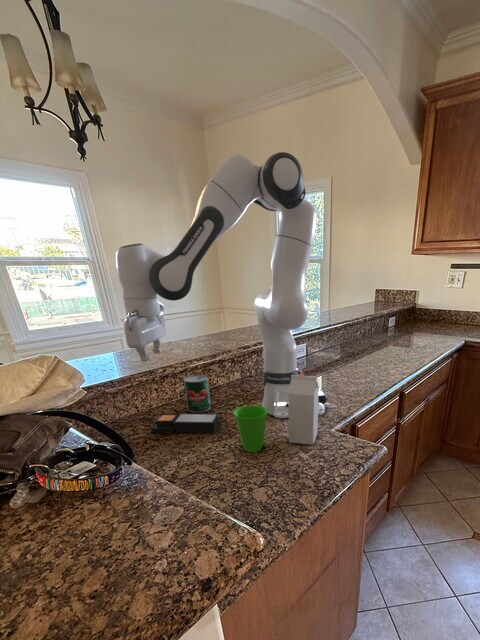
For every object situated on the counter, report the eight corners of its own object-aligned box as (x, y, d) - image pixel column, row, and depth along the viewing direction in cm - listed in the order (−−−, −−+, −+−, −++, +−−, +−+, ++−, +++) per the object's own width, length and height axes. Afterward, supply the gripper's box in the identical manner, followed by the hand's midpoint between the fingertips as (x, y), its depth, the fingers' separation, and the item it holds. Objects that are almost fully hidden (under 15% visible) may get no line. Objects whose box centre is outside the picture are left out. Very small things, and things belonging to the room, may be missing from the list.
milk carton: (313, 445, 100) (314, 380, 92) (288, 442, 101) (287, 378, 93) (317, 434, 106) (319, 373, 98) (294, 432, 107) (294, 371, 99)
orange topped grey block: (179, 424, 111) (177, 414, 110) (173, 431, 107) (172, 421, 106) (163, 424, 111) (161, 414, 110) (157, 431, 107) (155, 421, 105)
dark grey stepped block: (219, 422, 113) (218, 413, 112) (213, 433, 106) (212, 423, 104) (162, 422, 113) (160, 412, 111) (152, 432, 106) (150, 422, 104)
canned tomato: (194, 414, 119) (189, 383, 114) (183, 408, 124) (179, 377, 119) (215, 409, 124) (211, 378, 119) (204, 402, 129) (200, 373, 124)
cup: (276, 448, 98) (274, 411, 93) (249, 459, 92) (246, 421, 87) (256, 437, 104) (254, 402, 99) (230, 447, 98) (226, 410, 93)
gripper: (138, 313, 90) (148, 366, 96) (166, 304, 109) (173, 349, 115) (113, 313, 90) (125, 366, 96) (145, 304, 108) (153, 349, 115)
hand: (151, 357), depth 106 cm, fingers open, 8 cm apart
